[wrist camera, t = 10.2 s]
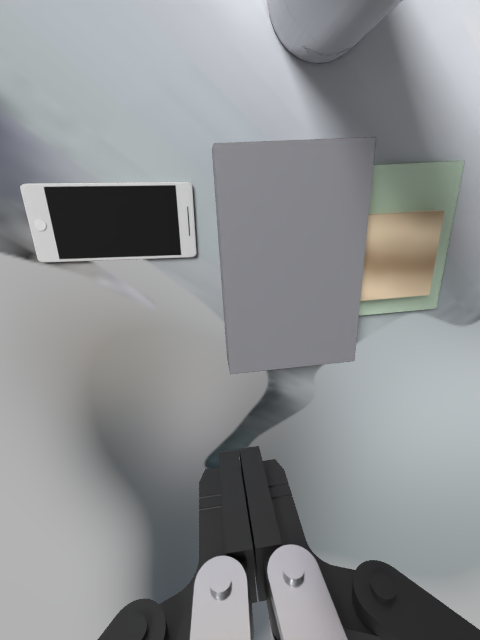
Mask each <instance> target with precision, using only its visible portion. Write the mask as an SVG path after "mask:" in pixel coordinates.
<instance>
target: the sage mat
mask: <svg viewBox="0 0 480 640" xmlns="http://www.w3.org/2000/svg"><path fill="white" fill-rule="evenodd" d="M463 167H464V161H447V162H426V163H405V164H384V165H373V174H372V185H371V195H370V205H369V214H377V213H394V212H411V211H428V210H440V211H444V217H443V222H442V227H441V233H440V238H439V244H438V249H437V255H436V260H435V266H434V271H433V277H432V282H431V288H430V293H429V295H424V296H412V297H401V298H389V299H377V300H366V301H360V309H359V316H361V315H371V314H382V313H393V312H404V311H415V310H426V309H436V307H437V302H438V296H439V291H440V286H441V281H442V276H443V270H444V265H445V260H446V255H447V250H448V244H449V239H450V234H451V229H452V224H453V218H454V213H455V208H456V203H457V198H458V193H459V187H460V182H461V177H462V172H463Z"/></svg>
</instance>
